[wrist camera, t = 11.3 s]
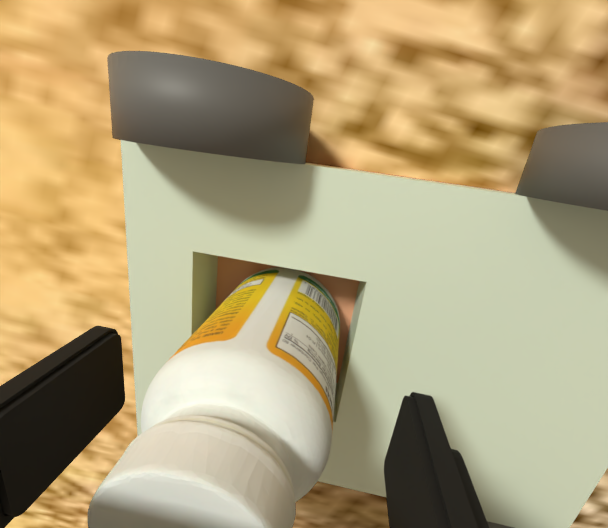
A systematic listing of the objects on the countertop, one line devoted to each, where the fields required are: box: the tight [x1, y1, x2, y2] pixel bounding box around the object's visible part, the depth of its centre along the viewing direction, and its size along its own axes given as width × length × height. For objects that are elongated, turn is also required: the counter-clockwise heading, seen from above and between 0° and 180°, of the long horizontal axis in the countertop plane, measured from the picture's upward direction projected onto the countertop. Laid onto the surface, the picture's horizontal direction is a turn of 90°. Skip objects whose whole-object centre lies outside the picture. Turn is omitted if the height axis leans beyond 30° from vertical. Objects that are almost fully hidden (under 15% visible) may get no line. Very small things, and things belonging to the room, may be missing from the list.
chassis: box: [108, 51, 608, 528], centre depth 12 cm, size 20×18×6 cm
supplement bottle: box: [88, 267, 340, 528], centre depth 10 cm, size 5×5×10 cm
